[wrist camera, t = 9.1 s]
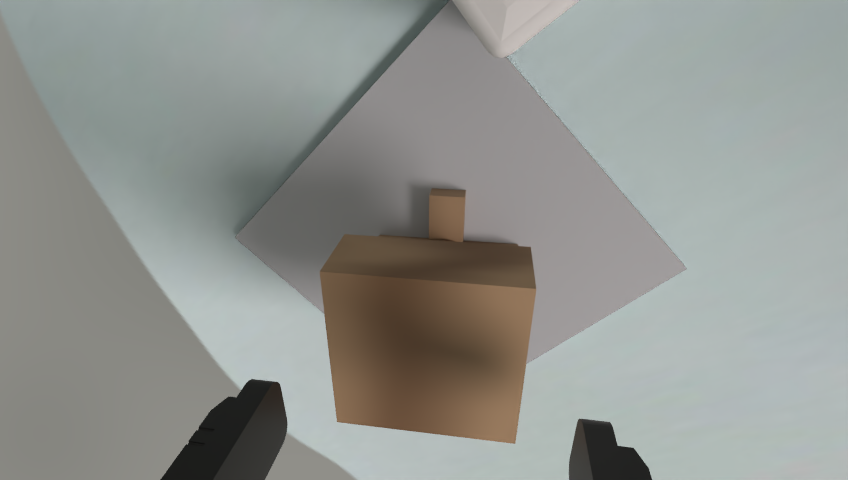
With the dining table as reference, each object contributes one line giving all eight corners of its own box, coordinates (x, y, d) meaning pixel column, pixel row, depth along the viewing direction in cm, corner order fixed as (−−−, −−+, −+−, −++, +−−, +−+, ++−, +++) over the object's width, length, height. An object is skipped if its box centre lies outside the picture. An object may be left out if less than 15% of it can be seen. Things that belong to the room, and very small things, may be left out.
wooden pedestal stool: (523, 193, 18) (536, 289, 12) (509, 315, 21) (514, 443, 15) (376, 185, 19) (319, 271, 13) (382, 304, 22) (337, 422, 16)
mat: (683, 264, 19) (686, 268, 19) (442, 408, 25) (442, 413, 25) (454, -4, 16) (453, -5, 16) (238, 233, 22) (234, 237, 21)
